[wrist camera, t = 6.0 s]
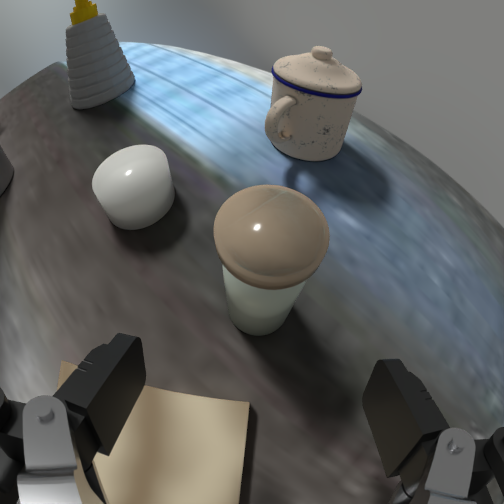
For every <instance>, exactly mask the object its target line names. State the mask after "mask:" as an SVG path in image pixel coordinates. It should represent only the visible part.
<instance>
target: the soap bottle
mask: <svg viewBox="0 0 504 504" xmlns="http://www.w3.org/2000/svg"><path fill="white" fill-rule="evenodd" d="M75 4H76V7H74V8H73V10H74V12H72V13H70V17H71V22H72V25H70V26H69V27H67V28H66V37H67V38H66V46H67V49H66V55H67V57H68V58H67V66H68V68H67V72H68V76H69V78H68V83H69V86H70V87H69V92H70V95H71V96H70V101H71V104H72V106H73V108H76V109H87V108H92V107H95V106H98V105H101V104H104V103H106V102H108V101H110V100H112V99H114V98H116V97H118V96H120V95H121V94H123V93H124V92H126V91H127V90H128V89H129V88H130V87H131V86H132V85H133V84H134V78H135V76H134V74H133V72H132V71H131V68H130V66H129V64H128V63H127V60H126V57H125V55H123V51H122V49H121V47H119V43H118V41H117V39H116V38H115V34H114V32H113V30H111V25H110V23H109V22H108V19H107V16H106V15H105V14H104V13H100V14H98V12H97V6H96V4H92V2H91V1H89V2H88V0H75Z"/></svg>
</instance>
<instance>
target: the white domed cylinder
mask: <svg viewBox="0 0 504 504" xmlns="http://www.w3.org/2000/svg"><path fill="white" fill-rule="evenodd" d="M92 188H93V191H94V193H95V195H96V196H97V198H98V200H99V202H100V204H101V205H102V207H103V209H104V211H105V212H106V214H107V216H108V218H109V219H110V221H111V222H112V223H113V224H114V225H115V226H117V227H119V228H122V229H126V230H137V229H142V228H145V227H147V226H150V225H152V224H154V223H155V222H157V221H158V220H160V219H161V218H162V217H163V216H164V215H165V214H166V213H167V212H168V211H169V209H170V208H171V206H172V204H173V201H174V197H175V190H174V186H173V182H172V178H171V174H170V170H169V166H168V162H167V157H166V155H165V154H164V152H163V151H162V150H160V149H159V148H157V147H155V146H151V145H135V146H131V147H127V148H124V149H122V150H120V151H118V152H116V153H114V154H112V155H111V156H110V157H108V158H107V159H106V160H105V161H104V162H103V163H102V164H101V165H100V166H99V167H98V169H97V170H96V172H95V174H94V177H93V180H92Z"/></svg>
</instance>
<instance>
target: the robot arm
mask: <svg viewBox="0 0 504 504" xmlns="http://www.w3.org/2000/svg"><path fill="white" fill-rule="evenodd" d="M13 172H14V168H13V166H12V164H11V162H10V161H9V159H8V158H7V156H6V154H5V153H4V151H3V149H2V147H1V146H0V196H1V194H2V193H3V192H4V190H5V189H6V187H7V186H8V184H9V182H10V180H11V178H12V176H13ZM145 380H146V370H145V363H144V356H143V348H142V342H141V339H140V338H139V337H135V336H131V335H126V334H122V333H118V334H117V335H116V336H115V337H114V338H113V339H112V340H111V342H110V343H109V344H108V345H107V344H102V345H100V346H98V347H97V348H95V349H93V350H91V352H90V353H89V354H88V355H87V356H86V357H85V359H84V361H82V362H81V363H80V364H79V365H78V368H77V369H75V370H74V371H73V372H72V374H71V375H70V376H69V377H68V378H67V380H66V381H65V382H64V383H63V384H62V386H61V387H60V388H59V389H58V390H57V392H56V393H55V394H54V395H53V396H38V397H35V398H33V399H31V400H30V401H29V402H28V403H27V404H25V403H20V402H16V401H11V400H7V398H6V396H5V394H4V392H3V390H2V389H1V388H0V504H16V503H17V501H18V499H19V497H20V503H21V504H110V503H109V501H108V498H107V496H106V493H105V491H104V488H103V485H102V483H101V480H100V477H99V474H98V471H97V468H96V465H95V462H94V460H93V459H94V457H95V455H96V453H97V452H98V453H101V454H104V455H106V456H109V455H110V453H111V451H112V449H113V447H114V445H115V443H116V441H117V439H118V437H119V435H120V433H121V431H122V429H123V427H124V425H125V423H126V421H127V419H128V417H129V415H130V413H131V411H132V409H133V407H134V405H135V403H136V401H137V400H138V398H139V396H140V394H141V392H142V390H143V388H144V385H145ZM362 402H363V409H364V411H365V414H366V417H367V420H368V423H369V425H370V428H371V431H372V434H373V437H374V440H375V443H376V445H377V448H378V451H379V454H380V457H381V460H382V463H383V467H384V470H385V473H386V476H387V478H389V477H394V476H398V475H400V477H401V481H400V482H399V483H398V485H397V487H396V489H395V491H394V493H393V495H392V497H391V499H390V501H389V503H388V504H493V501H492V499H491V496H490V494H489V491H488V489H487V486H486V485H487V484H488V483H489V482H490V481H492V480H493V479H494V478H496V480H497V482H498V484H499V487H500V489H501V491H502V494H503V496H504V427H501V428H498V429H497V430H496V431H495V432H494V434H493V435H492V436H491V437H490V439H482V440H474V439H473V438H472V436H471V435H470V434H469V433H468V432H466V431H464V430H462V429H459V428H450V427H449V425H448V423H447V422H446V420H445V418H444V417H443V415H442V413H441V412H440V410H439V408H438V407H437V405H436V403H435V402H434V400H432V397H431V395H430V394H429V392H427V389H426V388H425V386H424V385H423V383H422V381H421V380H420V379H419V378H418V377H416V376H415V375H414V374H413V373H411V372H408V371H407V369H406V368H405V366H404V364H403V363H402V361H401V360H400V359H383V360H378V361H377V363H376V364H375V367H374V369H373V372H372V374H371V377H370V379H369V381H368V384H367V386H366V388H365V391H364V394H363V400H362Z"/></svg>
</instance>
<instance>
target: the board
mask: <svg viewBox="0 0 504 504" xmlns="http://www.w3.org/2000/svg"><path fill="white" fill-rule="evenodd" d="M77 368H78V366H77V365H74V364H72V363H69V362H66V361H63V360H62V362H61V368H60V374H59V380H58V387H57V390H58V389H59V388H60V387H61V386H62V384H63V383H64V382H65V381H66V380H67V378H68V377H69V376H70V375H71V374H72V372H73V371H74V370H75V369H77ZM248 413H249V402H241V401H232V400H223V399H216V398H208V397H202V396H195V395H190V394H184V393H178V392H173V391H168V390H163V389H159V388H154V387H150V386H145V385H144V388H143V390H142V392H141V394H140V396H139V398H138V400H137V401H136V403H135V405H134V407H133V409H132V411H131V413H130V415H129V417H128V419H127V421H126V423H125V425H124V427H123V429H122V431H121V433H120V435H119V437H118V439H117V441H116V443H115V445H114V447H113V449H112V451H111V453H110V455H109V456H106V455H104V454H101V453H98V452H97V453H96V455H95V457H94V459H93V460H94V462H95V465H96V468H97V471H98V474H99V477H100V480H101V483H102V485H103V488H104V491H105V493H106V496H107V498H108V501H109V503H110V504H239V496H240V488H241V479H242V470H243V461H244V451H245V442H246V432H247V423H248Z"/></svg>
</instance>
